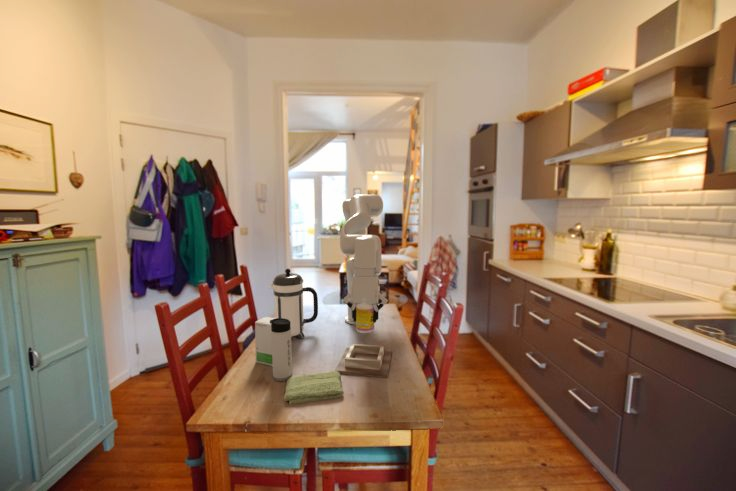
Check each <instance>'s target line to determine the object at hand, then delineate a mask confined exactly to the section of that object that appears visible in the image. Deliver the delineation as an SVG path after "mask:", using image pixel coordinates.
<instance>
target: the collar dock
mask: <svg viewBox="0 0 736 491" xmlns="http://www.w3.org/2000/svg"><path fill="white" fill-rule="evenodd" d="M392 354H393V350H386V349H385V346H384V345H377V344H375V345H374V344H360V343H359V344H358V343H352V344H351V345H350V346H349V347H345V350H344V352H343V354H342V356H341V358H340V360H339V362H338V364H337V365H336V368H335V369H334V371H338V372H339V373H340V375H341V374H342V375H351V376H352V375H353V376H354V375H355V376H365V377H366V376H367V377H376V378H377V377H378V378H388V376H389V370H390V365H391V360H392Z"/></svg>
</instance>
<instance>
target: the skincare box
mask: <svg viewBox="0 0 736 491" xmlns="http://www.w3.org/2000/svg"><path fill="white" fill-rule="evenodd" d="M273 319H276V318H275V317H270V316H263V318H260V319H258V320H256V321H255V322H254V324H255V325H254V326H255V327H254V330H255V331H254V333H255V334H254V335H255V337H254V338H255V342H254V343H255V363H258V364H262V365H267V366H271V367H273V362H272V338H271V324H270V320H273Z"/></svg>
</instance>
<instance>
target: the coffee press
mask: <svg viewBox="0 0 736 491" xmlns="http://www.w3.org/2000/svg"><path fill="white" fill-rule="evenodd" d="M284 272H285V273H281V274H278V275H276V276H275V277H274V278H273V281H272V283H271V284H270V286H269V289H273V296H274V298H273V299H274V300H273V301H274V318H284V319H288V320H289V321H290V327H291V338H292V337H296V336H298V337H299V339H304V338H305V336H306V335H305V333H304V332H303V331H304V330H305V329H304V328H305V327H304V325H305V324H309V323H312V322H314V321H315V320H316V319H317V317H318V314H319V303H318V301H319V298H318V293H317V292H316V290H315V289H314V288H313V287H308V286H306V287H304V286H303V283H304V279H303V277H302V276H301V275H300V274H298V273H292V272H291V269H290V268H286V269H285V270H284ZM304 292H310V293H311V294H312V295H313V297H312V298H313V315H312V316H311V317H309V318H304V299H303V298H304Z"/></svg>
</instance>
